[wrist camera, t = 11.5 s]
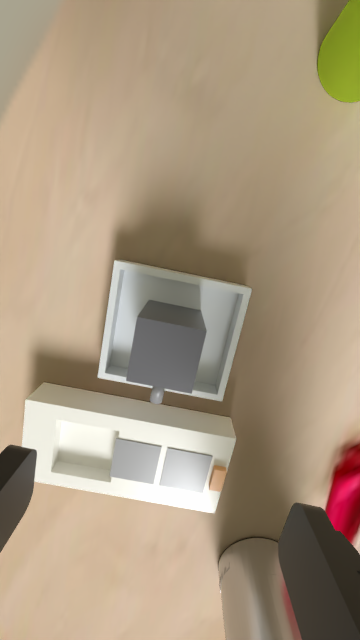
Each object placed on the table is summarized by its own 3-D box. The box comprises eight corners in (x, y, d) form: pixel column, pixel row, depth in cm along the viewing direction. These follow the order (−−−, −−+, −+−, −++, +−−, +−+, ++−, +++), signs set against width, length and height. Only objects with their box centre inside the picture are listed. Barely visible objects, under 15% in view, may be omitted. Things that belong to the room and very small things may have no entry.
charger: (201, 310, 27) (206, 331, 20) (185, 376, 28) (186, 416, 22) (149, 299, 27) (137, 316, 20) (136, 367, 28) (121, 404, 21)
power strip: (230, 417, 30) (237, 443, 26) (211, 485, 32) (215, 518, 28) (43, 382, 29) (21, 402, 25) (37, 454, 32) (15, 483, 28)
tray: (246, 285, 27) (252, 288, 24) (218, 388, 29) (222, 401, 27) (120, 259, 26) (114, 260, 24) (104, 366, 29) (97, 377, 26)
